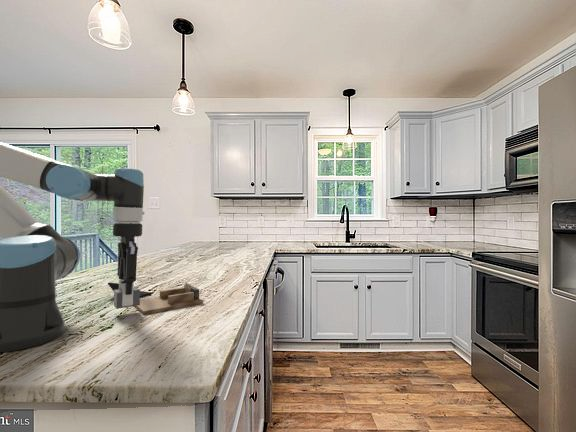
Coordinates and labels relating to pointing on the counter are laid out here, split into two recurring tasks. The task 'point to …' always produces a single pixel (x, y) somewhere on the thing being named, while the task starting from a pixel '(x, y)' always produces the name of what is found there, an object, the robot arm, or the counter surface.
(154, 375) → the counter surface
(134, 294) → the plug block
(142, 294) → the black angled piece
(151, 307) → the header board
